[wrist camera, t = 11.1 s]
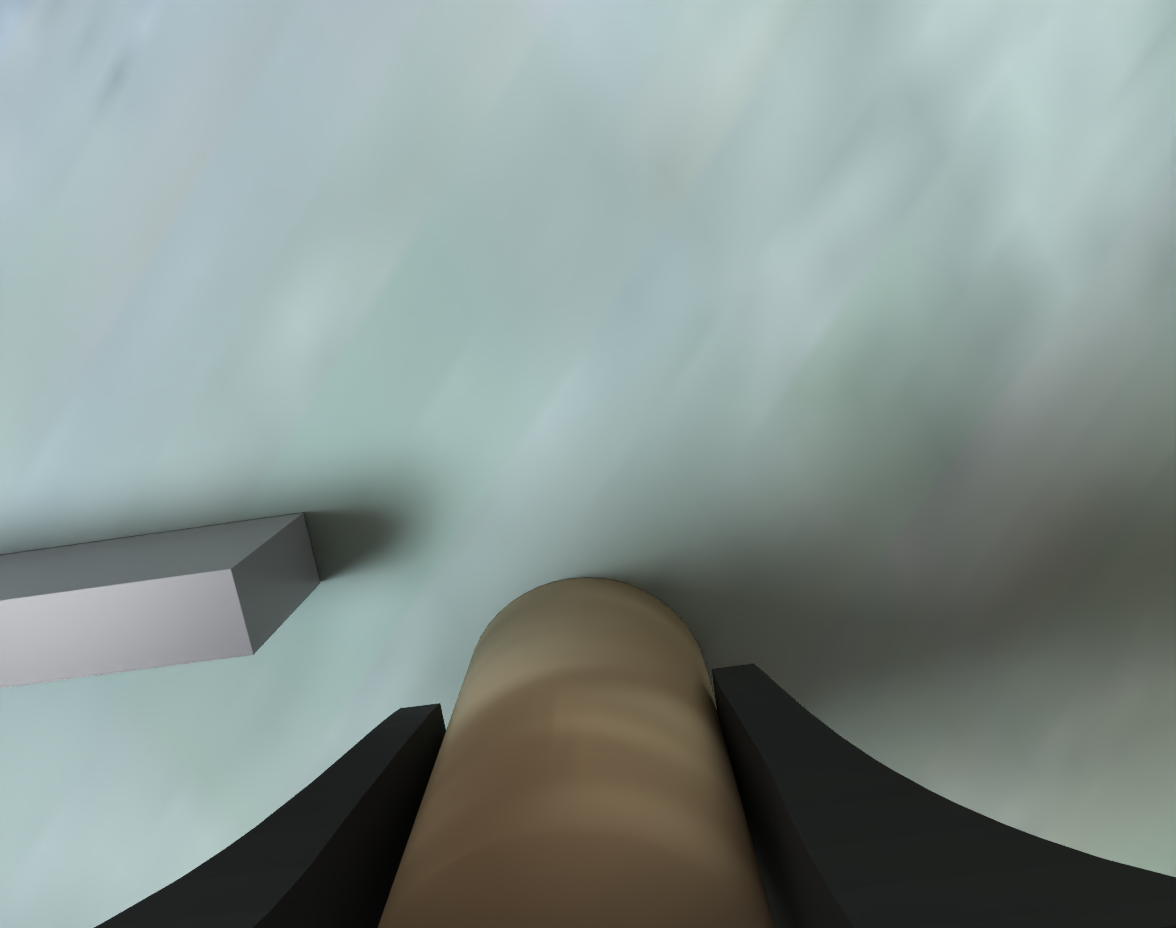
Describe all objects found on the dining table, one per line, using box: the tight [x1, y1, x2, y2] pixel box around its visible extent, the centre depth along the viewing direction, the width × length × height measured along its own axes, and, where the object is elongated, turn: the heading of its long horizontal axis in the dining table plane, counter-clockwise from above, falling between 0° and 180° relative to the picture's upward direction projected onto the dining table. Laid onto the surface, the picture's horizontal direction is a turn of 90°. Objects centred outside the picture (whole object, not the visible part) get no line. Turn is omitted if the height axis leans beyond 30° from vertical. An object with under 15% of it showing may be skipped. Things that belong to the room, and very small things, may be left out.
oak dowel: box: [378, 578, 775, 928], centre depth 10 cm, size 4×4×6 cm
